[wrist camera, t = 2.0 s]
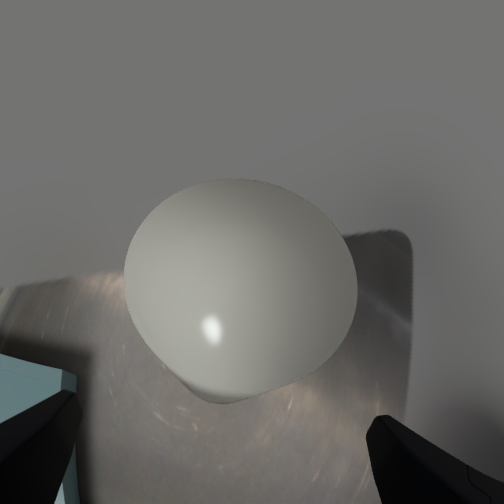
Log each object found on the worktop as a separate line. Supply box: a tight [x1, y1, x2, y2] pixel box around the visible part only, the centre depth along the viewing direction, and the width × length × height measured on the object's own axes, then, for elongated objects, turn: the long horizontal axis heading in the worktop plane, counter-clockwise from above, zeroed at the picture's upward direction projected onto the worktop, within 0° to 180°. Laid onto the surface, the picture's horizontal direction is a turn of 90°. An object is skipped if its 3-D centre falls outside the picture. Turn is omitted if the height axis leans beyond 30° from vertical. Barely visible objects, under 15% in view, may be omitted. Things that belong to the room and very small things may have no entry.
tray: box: [0, 354, 80, 504], centre depth 11 cm, size 12×12×2 cm
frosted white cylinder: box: [124, 179, 358, 404], centre depth 13 cm, size 6×6×13 cm
